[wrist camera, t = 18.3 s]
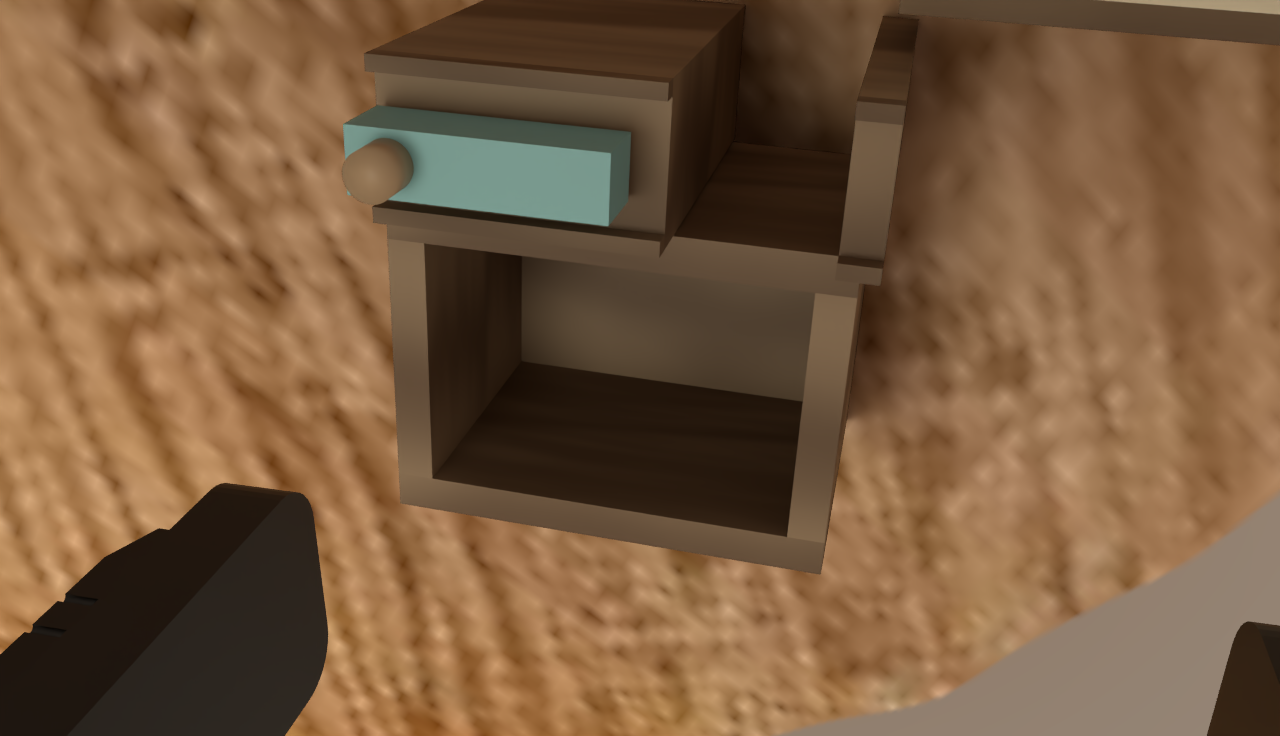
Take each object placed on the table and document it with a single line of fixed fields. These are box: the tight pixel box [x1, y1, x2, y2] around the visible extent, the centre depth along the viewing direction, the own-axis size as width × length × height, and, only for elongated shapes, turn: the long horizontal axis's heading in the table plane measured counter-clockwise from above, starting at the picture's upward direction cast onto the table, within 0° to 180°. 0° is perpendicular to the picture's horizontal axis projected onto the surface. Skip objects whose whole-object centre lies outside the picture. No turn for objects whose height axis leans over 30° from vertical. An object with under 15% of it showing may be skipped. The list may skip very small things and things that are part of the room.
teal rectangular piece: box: [342, 105, 631, 226], centre depth 27 cm, size 2×6×3 cm, turn 87°
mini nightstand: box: [364, 0, 919, 574], centre depth 34 cm, size 13×12×11 cm
